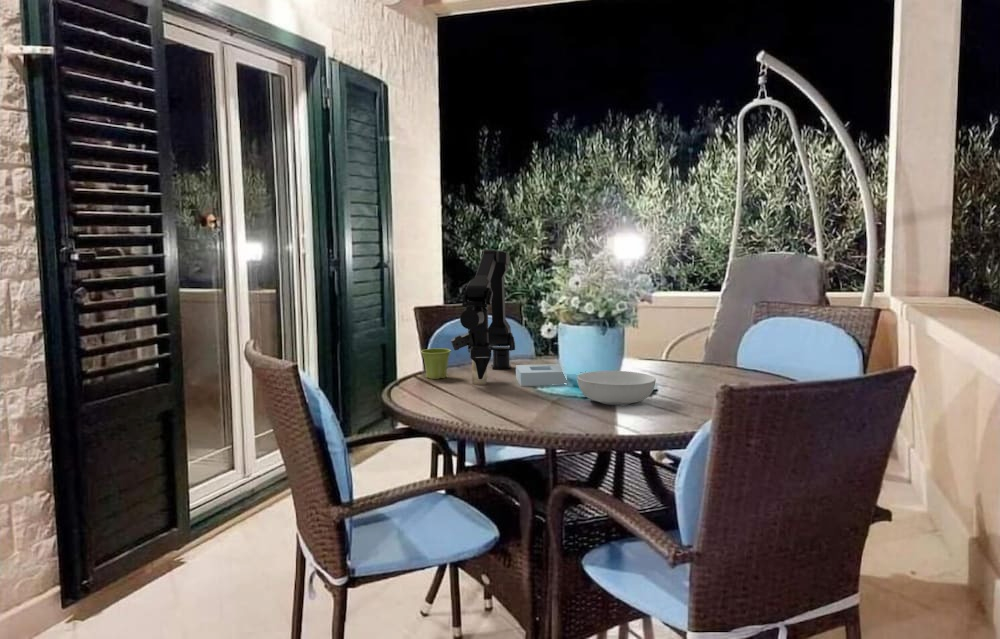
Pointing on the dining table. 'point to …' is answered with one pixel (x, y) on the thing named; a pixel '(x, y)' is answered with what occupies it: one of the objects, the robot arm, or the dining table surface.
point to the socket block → (540, 374)
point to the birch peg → (475, 376)
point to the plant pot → (436, 362)
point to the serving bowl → (616, 386)
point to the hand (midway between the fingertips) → (479, 376)
